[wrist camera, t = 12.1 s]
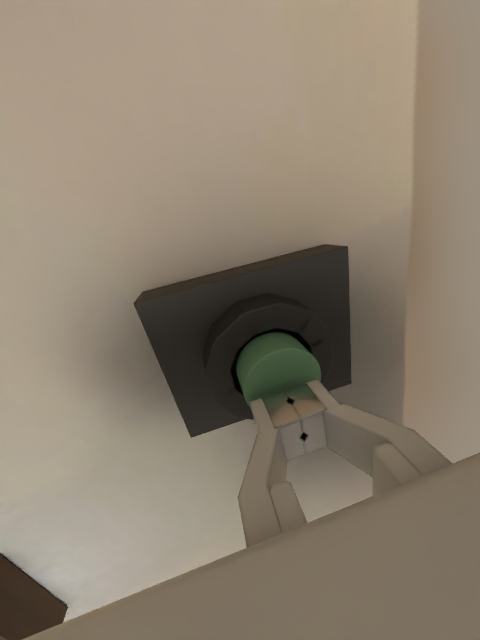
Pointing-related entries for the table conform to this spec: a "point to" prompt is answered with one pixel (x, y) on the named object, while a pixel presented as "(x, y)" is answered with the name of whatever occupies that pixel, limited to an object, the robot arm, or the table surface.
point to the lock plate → (25, 605)
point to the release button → (274, 365)
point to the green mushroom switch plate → (247, 327)
